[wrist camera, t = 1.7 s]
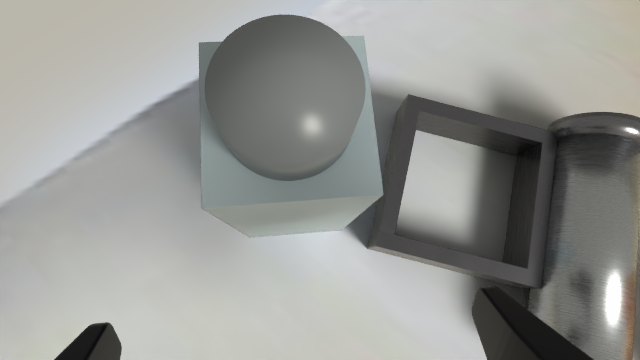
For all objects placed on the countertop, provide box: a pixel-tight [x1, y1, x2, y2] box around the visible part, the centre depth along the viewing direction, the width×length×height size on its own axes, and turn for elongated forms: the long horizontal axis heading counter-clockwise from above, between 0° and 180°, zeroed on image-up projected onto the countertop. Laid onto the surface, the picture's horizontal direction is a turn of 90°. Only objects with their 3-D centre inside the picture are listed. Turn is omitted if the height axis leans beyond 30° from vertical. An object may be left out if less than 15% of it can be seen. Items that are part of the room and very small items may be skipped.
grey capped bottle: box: [199, 15, 384, 238], centre depth 16 cm, size 5×5×13 cm
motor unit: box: [367, 94, 640, 360], centre depth 20 cm, size 13×13×5 cm
